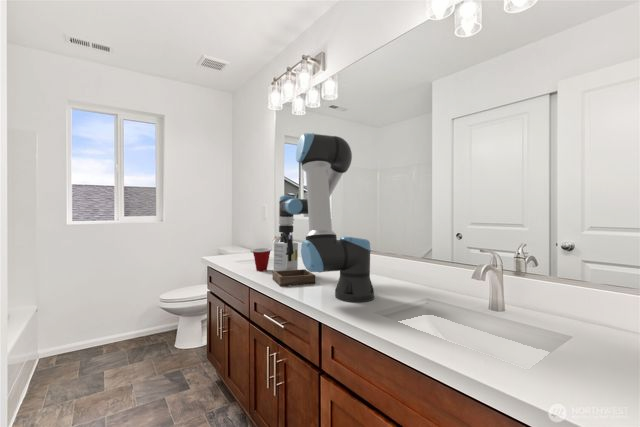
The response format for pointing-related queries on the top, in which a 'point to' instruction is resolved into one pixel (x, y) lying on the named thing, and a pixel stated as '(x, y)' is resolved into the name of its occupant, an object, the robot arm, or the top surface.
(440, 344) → the top surface
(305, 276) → the wooden tray
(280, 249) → the supplement box
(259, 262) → the plastic cup
